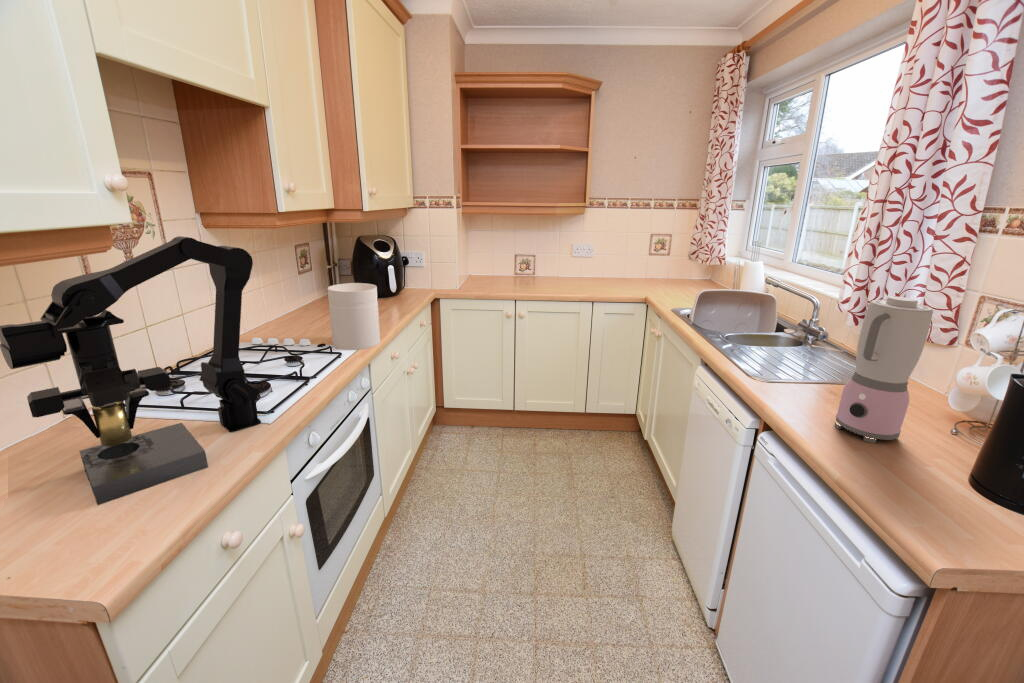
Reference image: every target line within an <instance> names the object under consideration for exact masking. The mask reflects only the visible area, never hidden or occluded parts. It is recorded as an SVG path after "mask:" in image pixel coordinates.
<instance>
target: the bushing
mask: <svg viewBox="0 0 1024 683" xmlns="http://www.w3.org/2000/svg"><path fill="white" fill-rule="evenodd" d="M91 411H92V415H93V419H94V423H95V425H96V427H97V430H98V432H99V436H100V438H99V440H100V445H103V446H115V445H119V444H122V443H125V442H127V441H129V440H130V439H131V438H132V436H133V434H132V429H130V426H129V422H128V418H127V414H126V405H125V401H122V402H114V403H110V404H106V405H104V406H101V407H94V406H92V407H91Z"/></svg>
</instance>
